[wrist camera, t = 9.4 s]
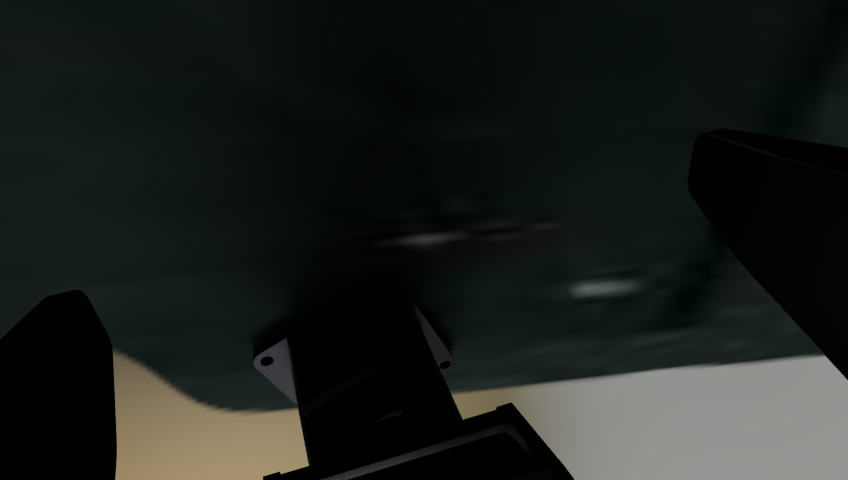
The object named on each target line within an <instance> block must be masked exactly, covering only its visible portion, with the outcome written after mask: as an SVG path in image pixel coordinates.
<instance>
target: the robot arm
mask: <svg viewBox="0 0 848 480" xmlns="http://www.w3.org/2000/svg"><path fill="white" fill-rule="evenodd" d="M688 189H689V192H690V195H691V196H692V198H693V199H694V201H695V202H696V203H697V205H698V206H699V207H700V209H701V210H702V211H703V213H704V214H705V215H706V217H707V218H708V220H709V221H710V222H711V224H712V225H713V226H714V228H715V229H716V230H717V232H718V233H719V234H720V236H721V237H722V238H723V240H724V241H725V242H726V244H727V245H728V246H729V248H730V249H731V250H732V252H733V253H734V255H735V256H736V257H737V258H738V260H739V261H740V262H741V263H742V265H743V266H744V267H745V268H746V269H747V271H748V272H749V273H750V274H751V275H752V276H753V277H754V279H755V280H756V281H757V282H758V283H759V284H760V285H761V286H762V287H763V288H764V289H765V291H766V292H767V293H768V294H769V295H770V296H771V297H772V298H773V299H774V300H775V301H776V303H777V304H778V305H779V306H780V307H781V308H782V309H783V310H784V311H785V312H786V313H787V314H788V316H789V317H790V318H791V319H792V320H793V321H794V322H795V323H796V324H797V325H798V326H799V328H800V329H801V330H802V331H803V332H804V333H805V334H806V335H807V336H808V337H809V338H810V340H811V341H812V342H813V343H814V344H815V345H816V346H817V347H818V348H819V349H820V350H821V352H822V353H823V354H824V355H825V356H826V357H827V358H828V359H829V360H830V361H831V362H832V363H833V365H834V366H835V367H836V368H837V369H838V370H839V371H840V372H841V373H842V374H843V375H844V377H846V379H847V380H848V148H844V147H838V146H832V145H826V144H820V143H813V142H807V141H801V140H795V139H789V138H782V137H776V136H770V135H764V134H758V133H752V132H745V131H739V130H733V129H726V128H724V129H718V130H714V131H710V132H706V133H703V134H701V135H699V136H698V137H697V139H696V140H695V142H694V146H693V152H692V158H691V164H690V169H689V175H688ZM387 283H391V284H390V285H389V286H388V287H382V286H383V285H384V284H387ZM266 356H270V358H268V359H262V358H263V357H266ZM253 361H254V365H255V367H256V368H257V369H258V370H259V371H260V372H261V373H262V374H263V375H264V376H266V377H267V378H268V379H269V380H270V381H271V382H272V383H273V384H274V385H276V386H277V387H278V388H279V389H280V390H281V391H282V392H283V393H284V394H285V395H287V396H288V397H289V398H290V399H291V400H292V401H293V402H294V403H295V404H296V405H298V410H299V415H300V421H301V426H302V431H303V436H304V441H305V447H306V452H307V458H308V463H309V466H307V467H304V468H300V469H297V470H294V471H290V472H287V473H284V474H280V472H277V473H274V474H270V475H267V476H264V477H263V480H574V478H573V477H572V476H571V474H570V473H569V472H568V470H567V469H566V467H565V466H564V465H563V464H562V463H561V461H560V460H559V459H558V458H557V457H556V456H555V454H554V453H553V452H552V451H551V449H550V448H549V447H548V446H547V445H546V443H545V442H544V441H543V440H542V439H541V437H540V436H539V435H538V434H537V433H536V431H535V430H534V429H533V428H532V427H531V426H530V424H529V423H528V422H527V421H526V419H525V418H524V417H523V416H522V415H521V413H520V412H519V411H518V410H517V409H516V407H515V406H514V405H513V404H512V403H508V404H505V405H502V406H498V407H497V408H496V410H494V411H491V412H487V413H484V414H481V415H477V416H474V417H471V418H467V419H464V420H463V419H462V417H461V415H460V413H459V410H458V408H457V406H456V404H455V402H454V399H453V397H452V395H451V393H450V391H449V388H448V386H447V384H446V382H445V379H444V377H443V375H444V374H445V373H447V372H449V371H450V370H451V369H453V367H454V366H455V363H456V361H455V359H454V357H453V355H452V353H451V351H450V350H449V349H448V347H447V346H446V344H445V343H444V342H443V340H442V339H441V337H440V336H439V335H438V333H437V332H436V330H435V329H434V328H433V326H432V325H431V324H430V322H429V321H428V319H427V318H426V317H425V315H424V314H423V312H422V311H421V310H420V308H419V307H418V305H417V304H416V303H415V301H414V300H413V299H412V297H411V296H410V294H409V293H408V292H407V290H406V289H405V287H404V286H403V285H402V283H401V282H400V280H399V279H398V278H397V276H396V275H395V274H394V273H391V272H383V273H381V274H379V275H377V276H375V277H374V278H372V279H370V280H369V281H367V282H365V283H364V284H362V285H360V286H359V287H357V288H355V289H354V290H352V291H350V292H349V293H347V294H346V295H344V296H342V297H341V298H339V299H337V300H336V301H334V302H332V303H331V304H329V305H327V306H326V307H324V308H322V309H321V310H319V311H317V312H316V313H314V314H312V315H311V316H309V317H307V318H306V319H304V320H303V321H301V322H299V323H298V324H296V325H294V326H293V327H291V328H289V329H288V330H286V331H284V332H283V333H281V334H279V335H278V336H276V337H274V338H273V339H271V340H269V341H268V342H266V343H264V344H263V345H261V346H260V347H258V348H257V349H256V350H255V351H254V353H253ZM443 361H445V362H443ZM442 362H443V363H442ZM116 440H117V438H116V416H115V392H114V370H113V351H112V345H111V342H110V339H109V336H108V334H107V332H106V330H105V328H104V326H103V325H102V323H101V321H100V319H99V317H98V315H97V313H96V312H95V310H94V308H93V306H92V304H91V302H90V300H89V299H88V297H87V296H86V295H85V293H83V292H82V291H80V290H72V291H68V292H64V293H60V294H56V295H52V296H48V297H46V298H44V299H43V300H42V301H41V302H40V303H39V304H38V305H37V306H36V307H34V308H33V309H32V310H31V311H30V312H29V313H28V314H27V315H26V316H25V317H24V318H23V319H22V320H21V321H19V322H18V323H17V324H16V325H15V326H14V327H13V328H12V329H11V330H10V331H9V332H8V333H7V334H6V335H4V336H3V337H2V338H1V339H0V480H115V474H116V473H115V472H116V458H117V444H116V443H117V441H116Z"/></svg>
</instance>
